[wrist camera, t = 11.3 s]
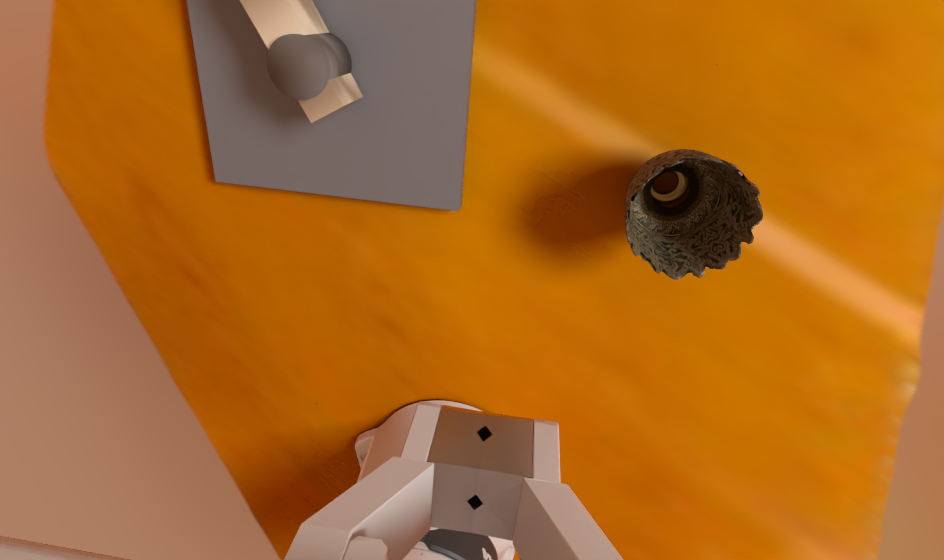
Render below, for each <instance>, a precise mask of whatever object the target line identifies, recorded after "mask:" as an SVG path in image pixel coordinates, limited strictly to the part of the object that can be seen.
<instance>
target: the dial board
mask: <svg viewBox="0 0 944 560" xmlns="http://www.w3.org/2000/svg"><path fill="white" fill-rule="evenodd" d="M186 1H187V7H188V13H189V20H190V26H191V32H192V38H193V45H194V51H195V57H196V63H197V70H198V76H199V82H200V88H201V94H202V101H203V107H204V113H205V119H206V126H207V132H208V138H209V144H210V150H211V157H212V163H213V169H214V175H215V182H223V183H231V184H239V185H248V186H256V187H264V188H272V189H280V190H289V191H297V192H305V193H313V194H321V195H330V196H338V197H346V198H354V199H363V200H371V201H379V202H387V203H395V204H404V205H412V206H420V207H428V208H436V209H445V210H453V211H459V209H460V207H461V205H462V191H463V178H464V164H465V151H466V137H467V123H468V110H469V96H470V82H471V69H472V55H473V41H474V28H475V14H476V1H477V0H312V1H313V3H314V5H315V7H316V8H317V10H318V12H319V14H320V16H321V18H322V20H323V22H324V24H325V25H326V27H327V29H328V31H329V33H332V34H334V35H336V36H337V37H338V38H340V39H341V40H342V41H343V42H344V44H345V45H346V47H347V48H348V51H349V53H350V56H351V61H352V69H351V74H352V76H353V78H354V80H355V82H356V84H357V86H358V88H359V89H360V91H361V93H362V95H363V97H362V98H360V99H358V100H356V101H354V102H353V103H351V104H349V105H347V106H345V107H343V108H341V109H339V110H337V111H335V112H333V113H331V114H329V115H327V116H325V117H323V118H321V119H319V120H317V121H315V122H313V123H311V122H310V120H309V119H308V117H307V115H306V113H305V112H304V110H303V108H302V107H301V105H300V103H299V101H298V100H295V99H291V98H289V97H287V96H285V95H284V94H283V93H281V92H280V91H279V90H278V89H277V88H276V87H275V85H274V84H273V82H272V80H271V78H270V76H269V73H268V70H267V54H268V48H267V46H266V45H265V43H264V41H263V40H262V38H261V36H260V34H259V33H258V31H257V29H256V27H255V26H254V24H253V22H252V21H251V19H250V17H249V15H248V14H247V12H246V10H245V9H244V7H243V5H242V3H241V2H240V0H186Z"/></svg>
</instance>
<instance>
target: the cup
mask: <svg viewBox="0 0 944 560" xmlns="http://www.w3.org/2000/svg"><path fill="white" fill-rule="evenodd" d="M737 168H738V167H737V166H736V165H734V164H731V163H729V162H726V161H723V160H721V159H719V158H717V157H714V156H712V155H709V154H706V153H703V152H700V151H695V150H687V149H681V150H673V151H668V152H665V153H662V154H659V155H657V156H655V157H653V158H652V159H650V160H649V161H647V162H646V163H645V164H644V165H643V166H642V167H641V168H640V169H639V170H638V171H637V172H636V174H635V175H634V177H633V179H632V181H631V183H630V185H629V187H628V191H627V195H626V201H625V219H626V227H625V228H626V235H627V239H628V242H629V244H630V245H631V250H632V252H633V254H634V255H635V256H637V255H640V256H641V257H642V258H643V260H645V261H648V262H649V263H650V265H651V266H652V267H653V269H654V271H655V272H657V273H661V271H663V272H664V273H665V274H666V275H668V276H669V277H670V278H672V279H681V278H682V277H684V276H685V275H686V274H687V273H690V272H691V273H692V274H693V275H694V276H697V277H698V278H700V277H702V276H703V274H704V273H705V271H704V270H705V266H707V267H708V268H710V269H713V268H715V269H723V268H725V266H726V262H728V261H732V260H737V259H738V258H739V257H740V254H741V245H740V243H741V242H746V243H747V244H752V242H753V239H754V237H753V234H752V232H751V230H752V229H753V227H754V226H755V225H758V224H759V223H760V222H761V220H762V218H763V212H762V208H761V205H760V203H759V200H758V196H759V195H760V192H759V190H758V188H757V187H756V185H755V184H753V183H751V182H750V181H748V180H747V178H746V177H745V176H744V174H743V173H742V172H741V171H739V170H738V169H737ZM666 172H672V173H674V174H675V175H676V176H677V179H678V183H677V186H676V188H675V189H674V190H673V191H671V192H670V193H666V194H662V193H659V192H657V191H656V190H655V188H654V181H655V180H656V178H657V177H659V176H660V175H661V174H663V173H666Z"/></svg>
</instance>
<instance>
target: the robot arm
mask: <svg viewBox="0 0 944 560" xmlns="http://www.w3.org/2000/svg"><path fill="white" fill-rule="evenodd" d="M355 451H356V454H357V458H358V461H359V464H360V468H361V471H360V474H359V477H358V480H357V483H356V484H355V485H353V486H352V487H350V488H349V489H348V490H346V491H345V492H344V493H342V494H341V495H340V496H338V497H337V498H335V499H334V500H333V501H331V502H330V503H329V504H327V505H326V506H325V507H323V508H322V509H321V510H319V511H318V512H316V513H315V514H314V515H312V516H311V517H310V518H308V519H307V520H306V521H304V522H303V523H302V524H301V526H300V528H299V530H298V532H297V534H296V536H295V538H294V540H293V542H292V544H291V546H290V548H289V551H288V553H287V555H286V557H285V559H284V560H513V557H514V551H515V550H516V552H517V554H518V556H519V558H520V560H623V559H622V557H621V556H620V554H619V553H618V552H617V550H616V549H615V548H614V546H613V545H612V544H611V542H610V541H609V540H608V538H607V537H606V536H605V534H604V533H603V532H602V530H601V529H600V528H599V526H598V525H597V523H596V522H595V521H594V519H593V518H592V517H591V515H590V514H589V513H588V511H587V510H586V509H585V507H584V506H583V505H582V503H581V502H580V501H579V499H578V498H577V497H576V495H575V494H574V492H573V491H572V490H571V488H570V487H569V486H568V485H567V484H562V483H560V453H559V425H558V423H557V422H554V421H547V420H539V419H534V420H533V419H530V418H523V417H516V416H509V415H502V414H495V413H487V412H483V411H481V410H479V409H477V408H474V407H472V406H469V405H466V404H462V403H458V402H452V401H442V400H433V401H423V402H422V401H420V402H418V403H414V404H411V405H408V406H406V407H404V408H402V409H400V410H398V411H397V412H395V413H394V414H393V415H391V416H390V417H389V418H388V419H387V420H386V421H385V422H384V423H383V424H382V425H381V426H379V427H378V428H375V429H372V430H369V431H366V432H364V433H362V434H360V435H359V436H358V437H357V440H356V443H355ZM0 560H129V559H124V558H118V557H112V556H107V555H102V554H96V553H91V552H85V551H80V550H75V549H69V548H64V547H58V546H52V545H47V544H42V543H37V542H31V541H25V540H20V539H15V538H9V537H4V536H0Z"/></svg>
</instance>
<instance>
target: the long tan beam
mask: <svg viewBox="0 0 944 560" xmlns="http://www.w3.org/2000/svg"><path fill="white" fill-rule="evenodd" d="M240 2H241V3H242V5H243V7H244V9H245V10H246V12H247V14H248V15H249V17H250V19H251V21H252V22H253V24H254V26H255V27H256V29H257V31H258V33H259V34H260V36H261V38H262V40H263V41H264V43H265V45H266V46H267V48H268V54H267V70H268V73H269V76H270V78H271V80H272V82H273V84H274V85H275V87H276V88H277V89H278V90H279V91H280V92H281V93H283V94H284V95H285V96H287V97H289V98H291V99H295V100H298V101H299V103H300V105H301V107H302V108H303V110H304V112H305V113H306V115H307V117H308V119H309V120H310V122H311V123H313V122H315V121H317V120H319V119H321V118H323V117H325V116H327V115H329V114H331V113H333V112H335V111H337V110H339V109H341V108H343V107H345V106H347V105H349V104H351V103H353V102H354V101H356V100H358V99H360V98H362V97H363V95H362V93H361V91H360V89H359V88H358V86H357V84H356V82H355V80H354V78H353V76H352V74H351V69H352V61H351V56H350V53H349V51H348V48H347V47H346V45H345V44H344V42H343V41H342V40H341V39H340V38H338V37H337V36H336V35H334V34H332V33H329V31H328V29H327V27H326V25H325V24H324V22H323V20H322V18H321V16H320V14H319V12H318V10H317V8H316V7H315V5H314V3H313V1H312V0H240Z"/></svg>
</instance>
